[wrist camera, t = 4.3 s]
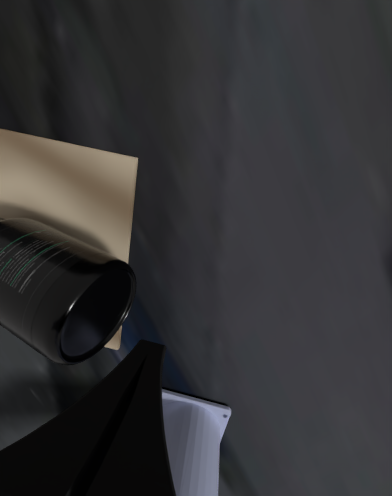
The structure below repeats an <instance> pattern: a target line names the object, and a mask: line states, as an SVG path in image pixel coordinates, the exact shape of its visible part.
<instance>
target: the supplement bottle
mask: <svg viewBox="0 0 392 496" xmlns="http://www.w3.org/2000/svg"><path fill="white" fill-rule="evenodd" d="M135 293H136V277H135V274H134V272H133V270H132V268H131V267H130V266H129V265H128V264H127V263H126V262H124V261H122V260H120V259H118V258H116V257H114V256H112V255H110V254H108V253H106V252H104V251H102V250H100V249H97V248H95V247H93V246H91V245H89V244H87V243H85V242H83V241H81V240H79V239H76V238H74V237H72V236H70V235H68V234H66V233H64V232H62V231H60V230H57V229H55V228H53V227H51V226H49V225H47V224H45V223H42V222H40V221H37V220H34V219H29V218H11V219H4V218H0V325H1V326H2V327H3V328H5V329H6V330H8V331H9V332H10V333H12V334H13V335H15V336H16V337H18V338H19V339H20V340H22V341H23V342H25V343H26V344H27V345H29V346H30V347H32V348H33V349H34V350H36V351H37V352H39V353H40V354H42V355H43V356H45V357H46V358H48V359H49V360H51V361H52V362H54V363H56V364H60V365H74V364H78V363H80V362H83V361H85V360H87V359H89V358H90V357H92V356H93V355H95V354H96V353H97V352H99V351H100V350H101V349H102V348H103V347H104V346H105V345H106V344H107V343H108V342H109V341H110V340H111V339H112V338H113V336H114V335H115V334H116V333H117V331H118V330H119V328H120V327H121V325H122V324H123V322H124V321H125V319H126V317H127V315H128V313H129V311H130V309H131V306H132V304H133V300H134V297H135Z"/></svg>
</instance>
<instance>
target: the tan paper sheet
mask: <svg viewBox="0 0 392 496" xmlns="http://www.w3.org/2000/svg"><path fill="white" fill-rule="evenodd" d="M137 165H138V158H136V157H131V156H127V155H122V154H117V153H113V152H108V151H103V150H99V149H94V148H89V147H85V146H80V145H75V144H71V143H66V142H61V141H57V140H52V139H47V138H43V137H38V136H33V135H29V134H24V133H19V132H15V131H10V130H5V129H1V128H0V218H4V219H11V218H29V219H34V220H37V221H40V222H42V223H45V224H47V225H49V226H51V227H53V228H55V229H57V230H60V231H62V232H64V233H66V234H68V235H70V236H72V237H74V238H76V239H79V240H81V241H83V242H85V243H87V244H89V245H91V246H93V247H95V248H97V249H100V250H102V251H104V252H106V253H108V254H110V255H112V256H114V257H116V258H118V259H120V260H122V261H124V262H126V263H127V264H128V257H129V247H130V237H131V227H132V216H133V206H134V196H135V185H136V175H137ZM121 330H122V325H121V327H120V328H119V330H118V331H117V333H116V334H115V335H114V336H113V338H112V339H111V340H110V341H109V342H108V343H107V344H106V345H105V346H104V347H108V348H112V349H115V350H118V349H119V347H120V340H121Z"/></svg>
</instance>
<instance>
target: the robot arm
mask: <svg viewBox="0 0 392 496" xmlns="http://www.w3.org/2000/svg"><path fill="white" fill-rule="evenodd" d="M165 352H166V347H165V345H161V344H157V343H154V342H150V341H146V340H140V341H139V342H138V343H137V345H136V346H135V347H134V348H133V349H132V351H131V352H130V353H129V354H128V355H127V356H126V357H125V358H124V359H123V360H122V361H121V362H120V363H119V364H118V365H117V366H116V367H115V368H114V369H113V370H112V371H111V372H110V373H109V374H108V375H107V376H106V377H105V378H104V379H103V380H102V381H101V382H99V383H98V384H97V385H96V386H95V387H94V388H93V389H91V390H90V391H89V392H88V393H87V394H85V395H84V396H83V397H82V398H80V399H79V400H78V401H76V402H75V403H74V404H72V405H71V406H70V407H68V408H67V409H66V410H64V411H63V412H62V413H60V414H59V415H57V416H56V417H54V418H53V419H51V420H50V421H48V422H47V423H45V424H44V425H42V426H41V427H39V428H38V429H36V430H34V431H33V432H31V433H30V434H28V435H27V436H25V437H23V438H22V439H20V440H18V441H17V442H15V443H13V444H11V445H9V446H8V447H6V448H4V449H2V450H1V451H0V496H218V480H219V448H220V441H221V438H222V436H223V433H224V430H225V428H226V425H227V423H228V420H229V417H230V415H231V409H230V408H229V407H228V406H224V405H221V404H217V403H213V402H209V401H206V400H202V399H198V398H194V397H191V396H187V395H183V394H179V393H176V392H172V391H168V390H164V389H162V368H163V362H164V357H165Z"/></svg>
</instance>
